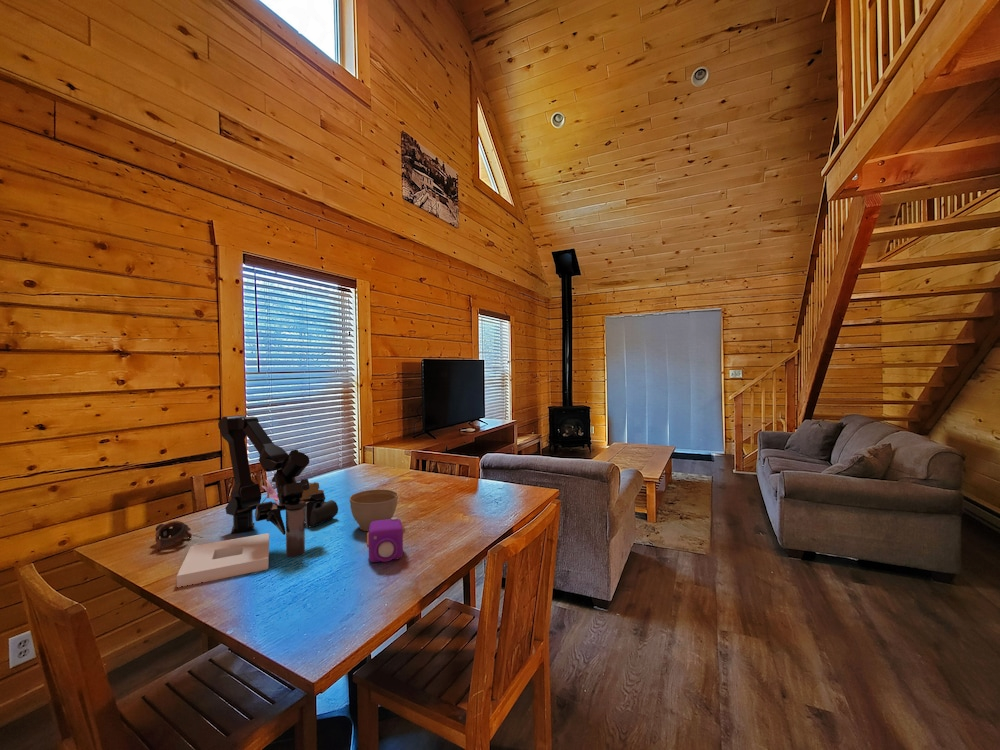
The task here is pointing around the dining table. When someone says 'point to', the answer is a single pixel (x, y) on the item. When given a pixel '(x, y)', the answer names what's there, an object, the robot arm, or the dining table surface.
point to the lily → (271, 493)
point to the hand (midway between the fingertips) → (296, 531)
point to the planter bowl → (373, 506)
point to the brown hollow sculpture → (171, 533)
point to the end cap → (323, 513)
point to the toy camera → (385, 540)
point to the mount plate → (224, 559)
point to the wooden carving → (311, 490)
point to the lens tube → (295, 528)
